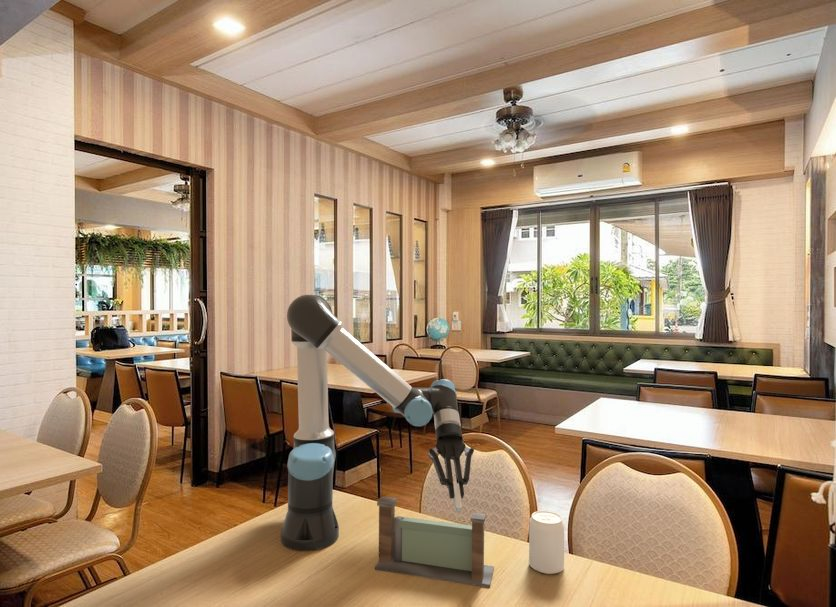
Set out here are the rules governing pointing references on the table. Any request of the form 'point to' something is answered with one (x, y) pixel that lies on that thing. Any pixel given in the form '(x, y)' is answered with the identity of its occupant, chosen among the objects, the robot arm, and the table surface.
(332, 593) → the table surface
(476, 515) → the gate frame
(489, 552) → the table surface
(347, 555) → the table surface
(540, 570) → the white cylinder
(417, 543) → the gate
